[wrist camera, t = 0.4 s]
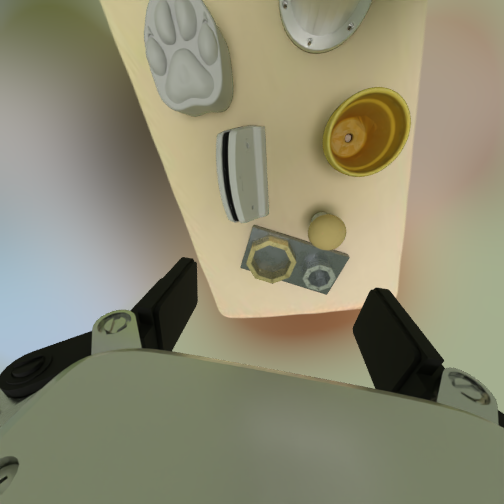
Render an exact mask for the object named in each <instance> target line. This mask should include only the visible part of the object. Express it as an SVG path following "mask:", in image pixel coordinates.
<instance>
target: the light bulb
mask: <svg viewBox="0 0 504 504" xmlns="http://www.w3.org/2000/svg"><path fill="white" fill-rule="evenodd" d="M345 236H346V227H345V224H344V223H343V221H342V220H341V219H340V218H338V217H337V216H334V215H330V214H327V213H324V212H319V213H317V214H315V215H314V216H313V217H312V220H311V224H310V226H309V230H308V237H309V240H310V242H311V243H312V244H313V245H314V246H315V247H317V248H319V249H322V250H333V249H335V248H337V247H338V246H340V245H341V243H342V242H343V241H344V239H345Z"/></svg>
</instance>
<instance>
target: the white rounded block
mask: <svg viewBox="0 0 504 504" xmlns="http://www.w3.org/2000/svg"><path fill="white" fill-rule="evenodd" d="M216 162H217V175H218V183H219V189H220V194H221V198H222V202H223V206H224V209H225V212H226V214H227V217H228V219H229V220H230V221H232V222H238V221H239V222H240V223H246V222H249V221H252V220H254V219H257V218H259V217H264V216H267V215H268V214H269V202H268V181H267V159H266V138H265V127H262V126H251V125H249V126H245V127H239V128H235V129H231V130H227V131H223V132H221V133H219V134H218V135H217V143H216Z"/></svg>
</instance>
